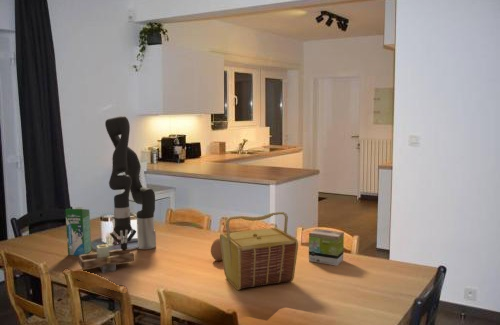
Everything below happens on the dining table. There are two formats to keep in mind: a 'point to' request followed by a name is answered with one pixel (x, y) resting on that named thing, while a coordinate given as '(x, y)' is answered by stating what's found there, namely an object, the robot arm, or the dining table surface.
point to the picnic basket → (258, 254)
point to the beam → (106, 260)
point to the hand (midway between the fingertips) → (124, 250)
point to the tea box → (326, 246)
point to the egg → (216, 250)
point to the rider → (102, 251)
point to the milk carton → (78, 231)
